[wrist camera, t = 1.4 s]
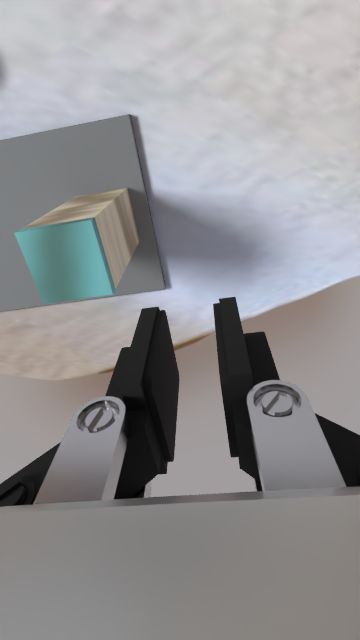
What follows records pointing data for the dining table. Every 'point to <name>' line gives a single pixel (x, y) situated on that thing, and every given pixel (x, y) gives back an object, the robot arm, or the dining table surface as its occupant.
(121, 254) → the birch block
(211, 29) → the dining table surface
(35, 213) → the rubber mat
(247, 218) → the dining table surface
